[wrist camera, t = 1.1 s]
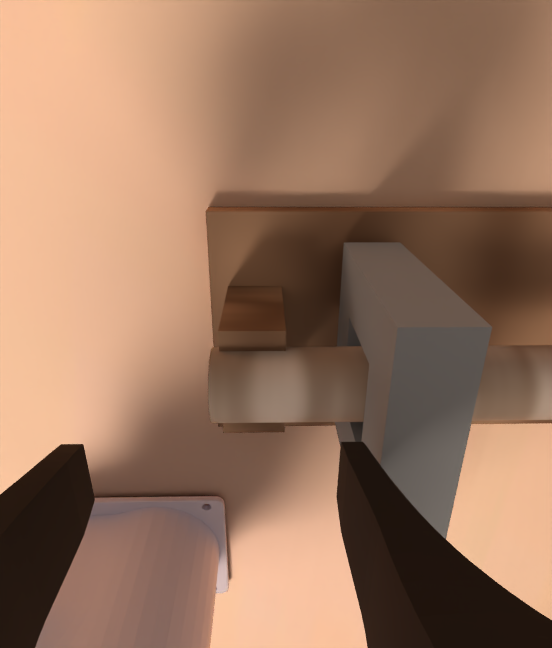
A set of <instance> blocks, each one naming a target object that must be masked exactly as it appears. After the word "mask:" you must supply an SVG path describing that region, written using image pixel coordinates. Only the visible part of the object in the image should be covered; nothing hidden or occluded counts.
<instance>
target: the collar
mask: <svg viewBox="0 0 552 648" xmlns="http://www.w3.org/2000/svg"><path fill="white" fill-rule="evenodd" d="M491 330H492V326H491V325H490V324H489V323H487V322H486V321H485V320H484V319H483V318H482V317H481V316H480V315H479V314H478V313H477V312H475V311H474V310H473V309H472V308H471V307H470V306H469V305H468V304H467V303H466V302H465V301H463V300H462V299H461V298H460V297H459V296H458V295H457V294H456V293H455V292H454V291H453V290H451V289H450V288H449V287H448V286H447V285H446V284H445V283H444V282H443V281H442V280H441V279H439V278H438V277H437V276H436V275H435V274H434V273H433V272H432V271H431V270H430V269H429V268H427V267H426V266H425V265H424V264H423V263H422V262H421V261H420V260H419V259H418V258H417V257H415V256H414V255H413V254H412V253H411V252H410V251H409V250H408V249H407V248H406V247H405V246H403V245H402V244H401V243H400V242H349V243H344V246H343V261H342V276H341V291H340V306H339V321H338V336H337V346H362V348H363V351H364V353H365V355H366V358H367V360H368V362H369V372H368V382H367V392H366V402H365V412H364V422H335V425H336V429H337V434H338V438H339V442H340V447H341V442H364V443H365V444H366V446H367V447H368V448H369V450H370V451H371V453H372V454H373V456H374V457H375V458H376V460H377V461H378V463H379V464H380V465H381V467H382V468H383V469H384V471H385V472H386V473H387V475H388V476H389V477H390V478H391V480H392V481H393V482H394V483H395V485H396V486H397V487H398V488H399V489H400V491H401V492H402V493H403V494H404V495H405V497H406V498H407V499H408V500H409V501H410V503H411V504H412V505H413V506H414V507H415V508H416V509H417V510H418V512H419V513H420V514H421V515H422V516H423V517H424V518H425V519H426V520H427V521H428V522H429V523H430V524H431V525H432V526H433V527H434V528H435V529H436V530H437V531H438V532H439V533H440V534H441V535H442V536H443V537H444V538H445V539H446V536H447V531H448V527H449V522H450V518H451V513H452V508H453V504H454V499H455V495H456V490H457V486H458V481H459V476H460V472H461V467H462V463H463V458H464V454H465V449H466V445H467V440H468V435H469V431H470V426H471V422H472V417H473V413H474V408H475V403H476V399H477V394H478V390H479V385H480V381H481V376H482V371H483V367H484V362H485V358H486V353H487V349H488V344H489V339H490V335H491Z"/></svg>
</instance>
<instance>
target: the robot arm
mask: <svg viewBox="0 0 552 648" xmlns="http://www.w3.org/2000/svg"><path fill="white" fill-rule="evenodd" d="M205 504H209V505H205ZM337 504H338V511H339V519H340V526H341V533H342V537H343V541H344V545H345V549H346V553H347V557H348V562H349V566H350V570H351V574H352V578H353V582H354V586H355V590H356V594H357V598H358V602H359V606H360V610H361V614H362V619H363V623H364V628H365V633H366V640H367V646H368V648H552V620H550V619H549V618H547V617H546V616H544V615H542V614H541V613H539V612H538V611H536V610H535V609H533V608H532V607H530V606H529V605H527V604H526V603H525V602H523V601H522V600H520V599H519V598H517V597H516V596H515V595H513V594H512V593H510V592H509V591H507V590H506V589H505V588H503V587H502V586H501V585H499V584H498V583H497V582H495V581H494V580H493V579H492V578H490V577H489V576H488V575H487V574H485V573H484V572H483V571H482V570H480V569H479V568H478V567H477V566H475V565H474V564H473V563H472V562H470V561H469V560H468V559H467V558H466V557H465V556H463V555H462V554H461V553H460V552H459V551H458V550H457V549H455V548H454V547H453V546H452V545H451V544H450V543H449V542H448V541H447V540H446V539H445V538H444V537H443V536H442V535H441V534H440V533H439V532H438V531H437V530H436V529H435V528H434V527H433V526H432V525H431V524H430V523H429V522H428V521H427V520H426V519H425V518H424V517H423V516H422V515H421V514H420V513H419V512H418V510H417V509H416V508H415V507H414V506H413V505H412V504H411V503H410V501H409V500H408V499H407V498H406V497H405V495H404V494H403V493H402V492H401V491H400V489H399V488H398V487H397V486H396V485H395V483H394V482H393V481H392V480H391V478H390V477H389V476H388V475H387V473H386V472H385V471H384V469H383V468H382V467H381V465H380V464H379V463H378V461H377V460H376V458H375V457H374V456H373V454H372V453H371V451H370V450H369V448H368V447H367V446H366V444H365V443H364V442H341V449H340V462H339V474H338V487H337ZM228 588H229V576H228V558H227V540H226V522H225V505H224V500H223V499H222V498H221V497H219V496H184V497H110V498H94V494H93V489H92V484H91V479H90V474H89V470H88V465H87V460H86V455H85V450H84V446H83V444H61V445H60V446H59V447H57V448H56V449H55V450H54V451H52V452H51V453H50V454H49V455H47V456H46V457H45V458H44V459H43V460H42V461H40V462H39V463H38V464H37V465H36V466H34V467H33V468H32V469H31V470H30V471H28V472H27V473H26V474H25V475H24V476H22V477H21V478H20V479H19V480H18V481H16V482H15V483H14V484H13V485H12V486H10V487H9V488H8V489H7V490H5V491H4V492H3V493H2V494H1V495H0V648H210V642H211V632H212V622H213V613H214V603H215V593H224V592H226V591H227V590H228Z"/></svg>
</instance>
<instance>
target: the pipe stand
mask: <svg viewBox="0 0 552 648" xmlns="http://www.w3.org/2000/svg"><path fill="white" fill-rule="evenodd" d="M206 223H207V240H208V257H209V274H210V292H211V309H212V326H213V343H214V347H212V349H211V353H210V359H209V371H208V405H209V415H210V421H211V423H218V427H222V426H223V433H242V432H284V426H321V425H335V422H364V412H365V402H366V392H367V382H368V372H369V362H368V360H367V358H366V355H365V353H364V351H363V348H362V346H337V336H338V321H339V306H340V291H341V276H342V261H343V246H344V243H349V242H400V243H401V244H402V245H403V246H405V247H406V248H407V249H408V250H409V251H410V252H411V253H412V254H413V255H414V256H415V257H417V258H418V259H419V260H420V261H421V262H422V263H423V264H424V265H425V266H426V267H427V268H429V269H430V270H431V271H432V272H433V273H434V274H435V275H436V276H437V277H438V278H439V279H441V280H442V281H443V282H444V283H445V284H446V285H447V286H448V287H449V288H450V289H451V290H453V291H454V292H455V293H456V294H457V295H458V296H459V297H460V298H461V299H462V300H463V301H465V302H466V303H467V304H468V305H469V306H470V307H471V308H472V309H473V310H474V311H475V312H477V313H478V314H479V315H480V316H481V317H482V318H483V319H484V320H485V321H486V322H487V323H489V324H490V325H491V326H492V330H491V335H490V339H489V344H488V349H487V353H486V358H485V362H484V367H483V371H482V376H481V381H480V385H479V390H478V394H477V399H476V403H475V408H474V413H473V417H472V422H471V424H519V423H552V207H208V209H207V211H206Z"/></svg>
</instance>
